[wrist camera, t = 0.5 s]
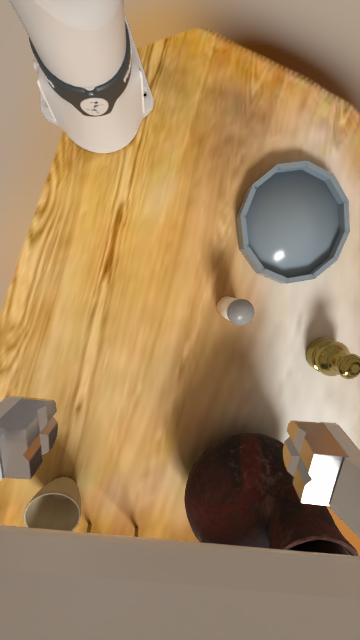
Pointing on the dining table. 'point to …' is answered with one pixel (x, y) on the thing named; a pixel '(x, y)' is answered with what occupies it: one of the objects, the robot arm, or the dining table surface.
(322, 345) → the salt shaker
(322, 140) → the dining table surface
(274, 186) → the dish
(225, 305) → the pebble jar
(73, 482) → the flower pot
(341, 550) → the jug
